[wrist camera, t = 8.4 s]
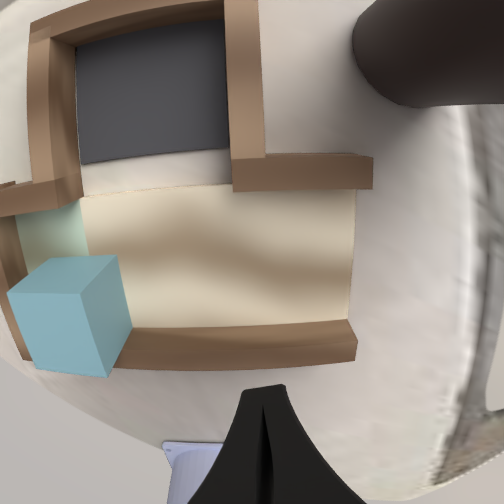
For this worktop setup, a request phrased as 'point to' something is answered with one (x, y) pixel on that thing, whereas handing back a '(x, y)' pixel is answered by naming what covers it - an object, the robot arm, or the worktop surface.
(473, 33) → the bottle
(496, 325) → the worktop surface
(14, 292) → the block
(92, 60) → the pit mat
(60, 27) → the wooden zigzag frame
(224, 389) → the worktop surface
